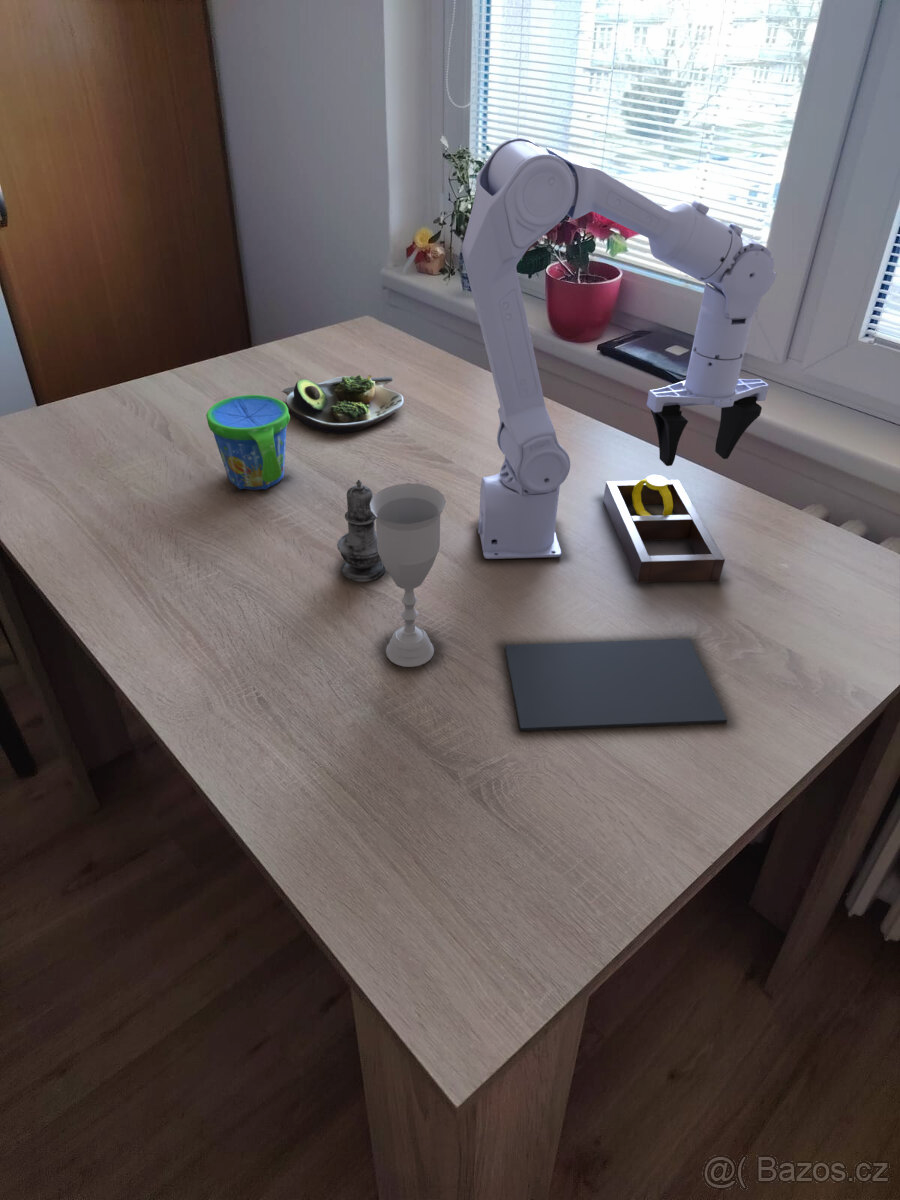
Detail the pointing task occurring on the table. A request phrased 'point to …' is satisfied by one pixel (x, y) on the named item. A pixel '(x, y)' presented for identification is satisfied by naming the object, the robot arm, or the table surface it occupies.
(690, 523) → the compartment tray
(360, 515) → the salt shaker
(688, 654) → the mat
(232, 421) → the snack cup
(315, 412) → the avocado toast plate
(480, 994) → the table surface
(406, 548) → the chalice
